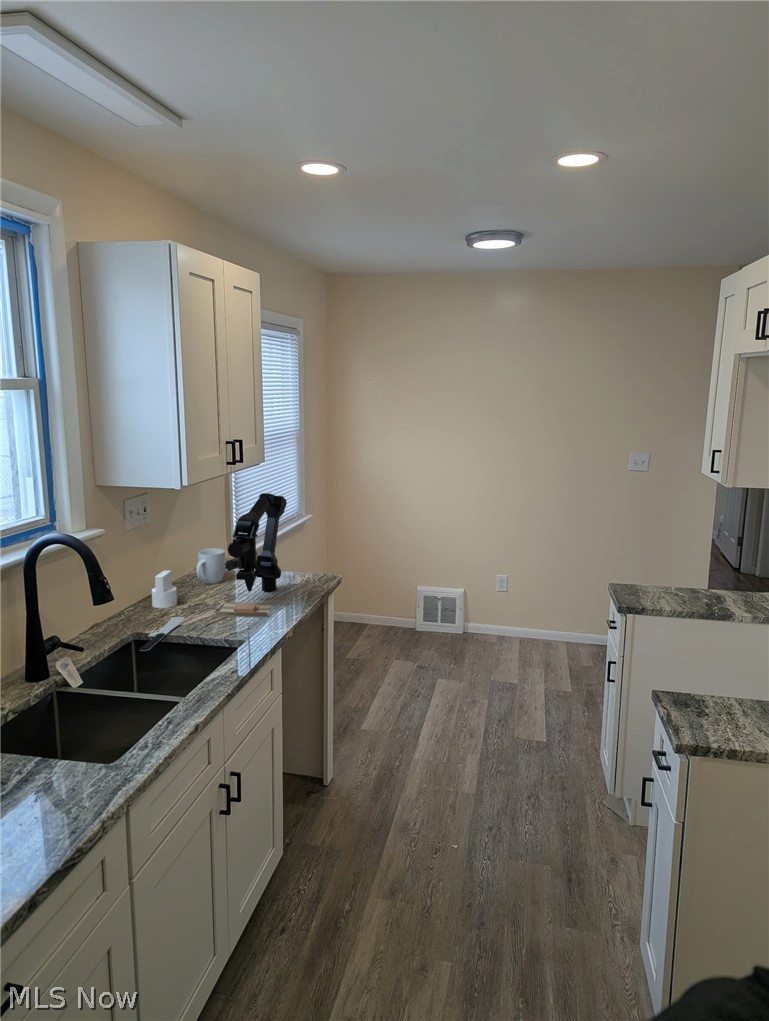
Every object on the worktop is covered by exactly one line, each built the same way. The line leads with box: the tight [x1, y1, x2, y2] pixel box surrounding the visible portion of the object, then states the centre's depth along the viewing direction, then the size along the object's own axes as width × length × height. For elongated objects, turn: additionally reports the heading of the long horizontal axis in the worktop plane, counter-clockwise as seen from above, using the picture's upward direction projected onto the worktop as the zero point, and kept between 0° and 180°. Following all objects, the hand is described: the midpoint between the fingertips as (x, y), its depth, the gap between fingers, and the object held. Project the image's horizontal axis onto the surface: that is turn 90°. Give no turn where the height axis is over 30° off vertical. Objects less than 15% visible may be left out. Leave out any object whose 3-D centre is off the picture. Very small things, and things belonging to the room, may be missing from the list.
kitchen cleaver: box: [139, 616, 185, 653], centre depth 228 cm, size 31×2×10 cm
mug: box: [195, 548, 227, 585], centre depth 285 cm, size 15×11×13 cm
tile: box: [234, 603, 256, 612], centre depth 249 cm, size 2×7×7 cm
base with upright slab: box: [151, 570, 178, 609], centre depth 257 cm, size 9×9×12 cm
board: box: [215, 601, 274, 618], centre depth 250 cm, size 16×18×2 cm
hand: (249, 591), depth 258 cm, fingers closed
